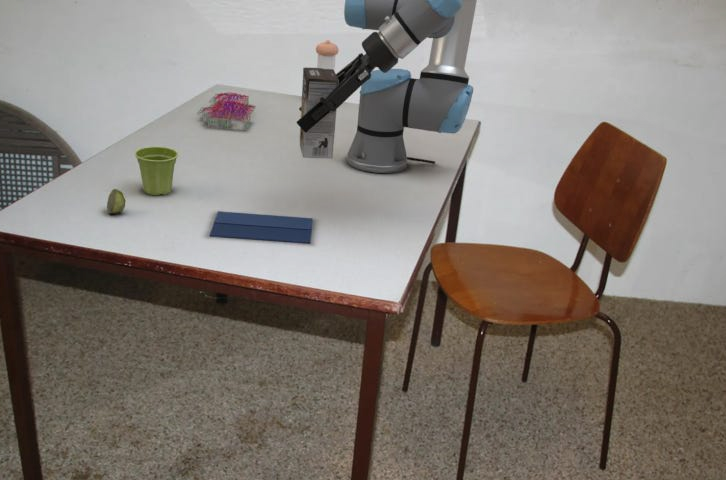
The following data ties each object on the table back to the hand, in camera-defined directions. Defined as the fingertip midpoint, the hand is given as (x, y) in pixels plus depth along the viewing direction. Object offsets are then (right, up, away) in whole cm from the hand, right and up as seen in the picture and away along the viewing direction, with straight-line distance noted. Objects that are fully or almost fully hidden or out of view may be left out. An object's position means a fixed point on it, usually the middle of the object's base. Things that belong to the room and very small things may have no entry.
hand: (302, 120), depth 162 cm
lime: (-39, -19, +3) cm, 43 cm away
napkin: (-8, -22, +1) cm, 23 cm away
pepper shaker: (+6, +28, +90) cm, 94 cm away
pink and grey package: (-22, +19, +71) cm, 77 cm away
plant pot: (-32, -12, +16) cm, 38 cm away
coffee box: (+3, -6, +3) cm, 7 cm away
